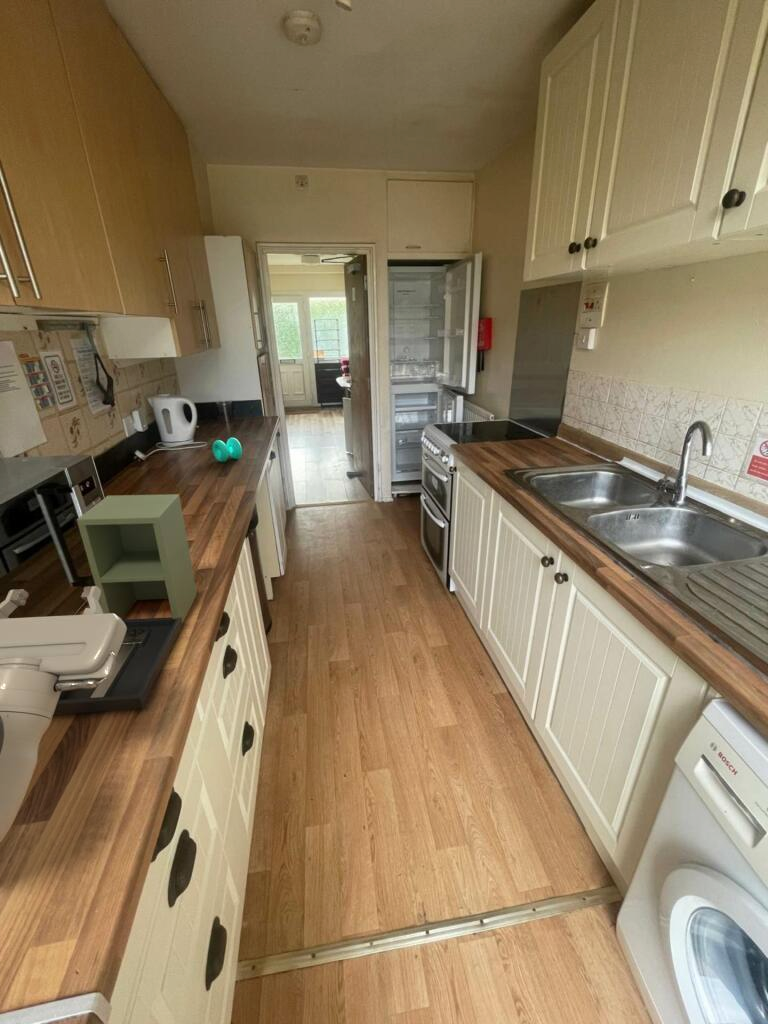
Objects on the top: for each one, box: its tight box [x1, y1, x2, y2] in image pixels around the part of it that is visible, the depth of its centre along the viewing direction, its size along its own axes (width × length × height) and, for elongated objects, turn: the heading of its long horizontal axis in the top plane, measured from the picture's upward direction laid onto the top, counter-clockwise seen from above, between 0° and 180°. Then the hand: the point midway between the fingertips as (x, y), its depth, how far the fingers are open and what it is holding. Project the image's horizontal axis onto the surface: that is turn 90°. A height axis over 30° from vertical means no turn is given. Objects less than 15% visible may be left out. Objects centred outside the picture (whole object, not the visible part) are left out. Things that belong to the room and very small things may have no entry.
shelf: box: [76, 493, 198, 624], centre depth 88 cm, size 14×12×25 cm
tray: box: [53, 616, 184, 716], centre depth 78 cm, size 14×21×2 cm, turn 7°
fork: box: [90, 628, 151, 698], centre depth 77 cm, size 18×4×1 cm, turn 7°
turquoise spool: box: [212, 437, 243, 463], centre depth 196 cm, size 10×10×10 cm
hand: (57, 589), depth 60 cm, fingers open, 8 cm apart
